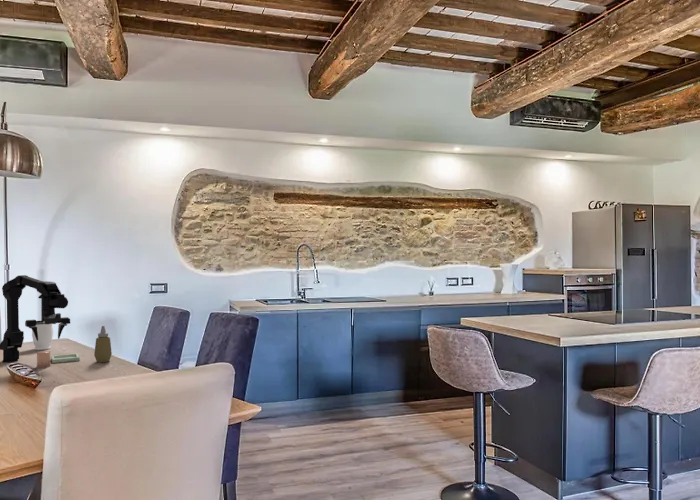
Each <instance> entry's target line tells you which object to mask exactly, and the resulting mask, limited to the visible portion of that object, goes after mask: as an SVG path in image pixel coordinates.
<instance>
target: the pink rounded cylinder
mask: <svg viewBox="0 0 700 500" xmlns="http://www.w3.org/2000/svg"><path fill="white" fill-rule="evenodd" d="M50 367H51V350H40V351H37V352H36V368H38V369H45V368H50Z"/></svg>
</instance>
